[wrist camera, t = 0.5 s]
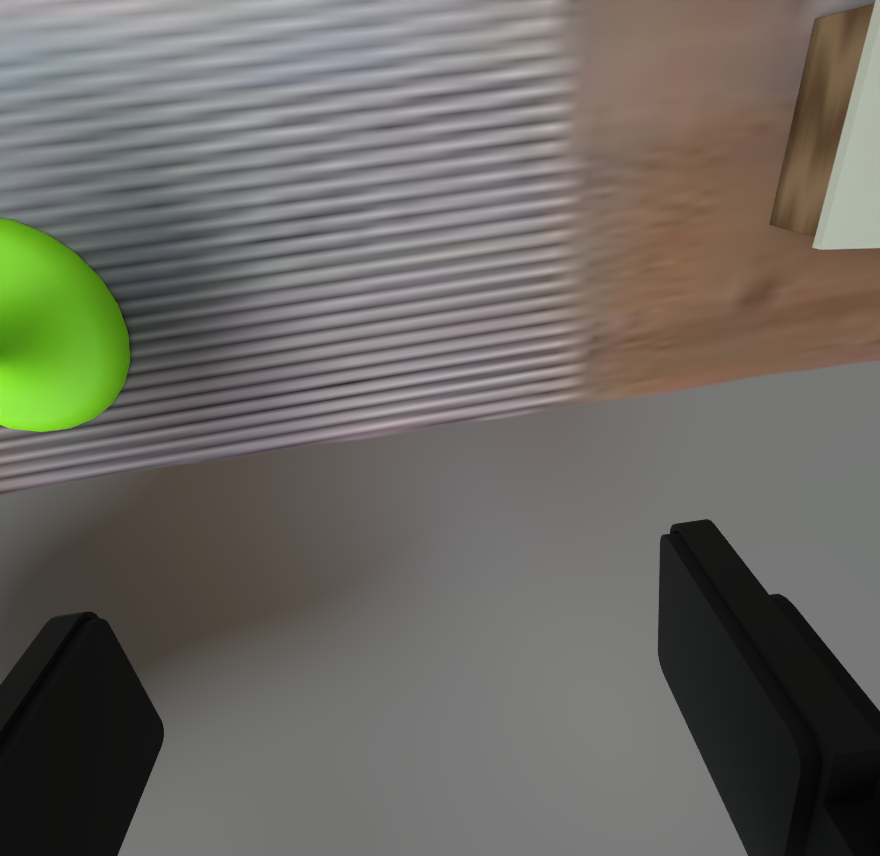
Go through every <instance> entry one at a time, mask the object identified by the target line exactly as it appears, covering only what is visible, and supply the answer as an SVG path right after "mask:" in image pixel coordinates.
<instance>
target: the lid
mask: <svg viewBox="0 0 880 856" xmlns="http://www.w3.org/2000/svg"><path fill="white" fill-rule="evenodd" d="M813 248H816V249H820V250H827V249H862V248H880V0H875V4H874V8H873V12H872V16H871V20H870V24H869V28H868V32H867V36H866V39H865V43H864V47H863V51H862V55H861V59H860V63H859V67H858V71H857V75H856V79H855V83H854V87H853V90H852V94H851V98H850V102H849V106H848V110H847V114H846V118H845V122H844V126H843V130H842V134H841V137H840V141H839V145H838V149H837V153H836V157H835V161H834V165H833V169H832V173H831V177H830V181H829V185H828V188H827V192H826V196H825V200H824V204H823V208H822V212H821V216H820V220H819V224H818V228H817V232H816V235H815V239H814V243H813Z"/></svg>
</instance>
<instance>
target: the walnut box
mask: <svg viewBox="0 0 880 856" xmlns="http://www.w3.org/2000/svg"><path fill="white" fill-rule="evenodd" d="M874 4H875V3H874ZM874 4H870V5H866V6H863V7H859V8H855V9H851V10H848V11H844V12H840V13H837V14H833V15H829V16H826V17H822V18H818V19H815V21H814V25H813V30H812V35H811V39H810V44H809V48H808V53H807V57H806V62H805V66H804V71H803V75H802V80H801V85H800V89H799V94H798V98H797V103H796V107H795V112H794V116H793V121H792V125H791V130H790V135H789V139H788V144H787V148H786V153H785V157H784V162H783V166H782V171H781V175H780V180H779V185H778V189H777V194H776V198H775V203H774V207H773V212H772V216H771V221H770V225H773V226H777V227H780V228H784V229H788V230H792V231H795V232H799V233H803V234H807V235H810V236H814V237H815V235H816V232H817V228H818V224H819V220H820V216H821V212H822V208H823V204H824V200H825V196H826V192H827V188H828V185H829V181H830V177H831V173H832V169H833V165H834V161H835V157H836V153H837V149H838V145H839V141H840V137H841V134H842V130H843V126H844V122H845V118H846V114H847V110H848V106H849V102H850V98H851V94H852V90H853V87H854V83H855V79H856V75H857V71H858V67H859V63H860V59H861V55H862V51H863V47H864V43H865V39H866V36H867V32H868V28H869V24H870V20H871V16H872V12H873V8H874Z"/></svg>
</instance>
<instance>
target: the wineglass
mask: <svg viewBox="0 0 880 856" xmlns="http://www.w3.org/2000/svg"><path fill="white" fill-rule="evenodd" d="M129 364H130V347H129V334H128V331H127V328H126V325H125V322H124V319H123V317H122V314H121V311H120V308H119V305H118V304H117V302H116V301H115V299H114V298H113V296H112V294H111V293H110V291H109V290H108V288H107V287H106V285H105V284H104V282H103V281H102V279H101V278H100V277H99V276H98V275H97V274H96V273H95V272H94V271H93V270H92V269H91V268H90V267H89V266H88V265H87V264H86V263H85V262H84V261H83V260H82V259H81V258H80V257H79V256H78V255H77V254H76V253H75V252H74V251H72V250H71V249H69V248H68V247H66V246H65V245H63V244H62V243H60V242H59V241H57V240H56V239H54V238H52V237H51V236H49V235H48V234H46V233H44V232H42V231H39V230H37V229H34V228H32V227H29V226H27V225H24V224H21V223H19V222H16V221H14V220H10V219H3V218H0V425H2V426H5V427H8V428H12V429H20V430H29V431H38V432H45V431H53V430H62V429H70V428H73V427H75V426H78V425H80V424H83V423H85V422H88V421H90V420H93V419H95V418H96V417H97V416H98V415H100V414H101V413H102V412H103V411H105V410H106V409H107V408H108V407H109V406H111V405H112V404H113V403H114V401H115V399H116V398H117V396H118V395H119V393H120V391H121V390H122V388H123V386H124V385H125V382H126V378H127V373H128V369H129Z"/></svg>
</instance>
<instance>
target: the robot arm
mask: <svg viewBox="0 0 880 856" xmlns="http://www.w3.org/2000/svg"><path fill="white" fill-rule="evenodd" d="M658 623H659V624H658V626H659V627H658V656H659V661H660V665H661V669H662V671H663V674H664V676H665V678H666V680H667V682H668V685H669V687H670V689H671V691H672V693H673V695H674V698H675V700H676V702H677V704H678V706H679V708H680V711H681V713H682V715H683V717H684V719H685V721H686V723H687V725H688V728H689V730H690V732H691V734H692V736H693V738H694V741H695V742H696V745H697V747H698V749H699V751H700V753H701V755H702V758H703V760H704V762H705V764H706V766H707V768H708V771H709V773H710V775H711V777H712V779H713V781H714V783H715V786H716V788H717V789H718V792H719V794H720V796H721V798H722V800H723V803H724V804H725V807H726V809H727V811H728V813H729V815H730V818H731V820H732V822H733V824H734V826H735V828H736V831H737V833H738V835H739V837H740V839H741V841H742V843H743V846H744V848H745V850H746V852H747V854H748V856H880V711H879V710H878V709H877V707H876V706H875V705H874V704H873V703H872V701H871V700H870V699H869V698H868V696H867V695H866V694H865V693H864V691H863V690H862V689H861V688H860V686H859V685H858V684H857V683H856V682H855V680H854V679H853V678H852V677H851V675H850V674H849V673H848V672H847V670H846V669H845V668H844V667H843V665H842V664H841V663H840V662H839V661H838V659H837V658H836V657H835V656H834V654H833V653H832V652H831V651H830V649H829V648H828V647H827V646H826V644H825V643H824V642H823V641H822V640H821V638H820V637H819V636H818V635H817V633H816V632H815V631H814V630H813V628H812V627H811V626H810V625H809V624H808V622H807V621H806V620H805V619H804V617H803V616H802V615H801V614H800V612H799V611H798V610H797V609H796V607H795V606H794V605H793V604H792V603H791V602H790V601H789V600H788V599H787V598H786V597H784V596H782V595H780V594H773V595H769V594H768V593H767V592H766V590H765V589H764V588H763V586H762V585H761V584H760V583H759V581H758V580H757V579H756V577H755V576H754V575H753V574H752V572H751V571H750V570H749V568H748V567H747V566H746V565H745V563H744V562H743V561H742V559H741V558H740V557H739V556H738V554H737V553H736V552H735V550H734V549H733V548H732V546H731V545H730V544H729V543H728V541H727V540H726V539H725V537H724V536H723V535H722V534H721V532H720V531H719V530H718V528H717V527H716V526H715V524H713V523H712V521H710V520H708V519H706V520H699V521H692V522H685V523H678V524H674V525H672V527H671V529H670V534H666V535H662V536H661V540H660V575H659V622H658ZM163 737H164V728H163V724H162V721H161V719H160V717H159V715H158V714H157V712H156V710H155V708H154V707H153V704H152V702H151V700H150V699H149V697H148V695H147V693H146V691H145V690H144V688H143V686H142V685H141V682H140V680H139V678H138V677H137V675H136V673H135V671H134V669H133V667H132V665H131V664H130V662H129V660H128V658H127V656H126V654H125V653H124V651H123V649H122V647H121V645H120V643H119V642H118V640H117V638H116V636H115V634H114V632H113V631H112V629H111V627H110V625H109V623H108V622H107V621H106V620H104V619H99V617H98V616H97V615H96V614H95V613H93V612H82V613H75V614H69V615H62V616H56V617H54V618H51V619H50V620H49V621H48V622H47V623H46V624H45V626H44V627H43V628H42V630H41V631H40V633H39V634H38V635H37V637H36V638H35V639H34V640H33V642H32V643H31V645H30V646H29V647H28V649H27V650H26V651H25V653H24V654H23V655H22V657H21V658H20V659H19V661H18V662H17V663H16V665H15V666H14V667H13V669H12V670H11V672H10V673H9V674H8V676H7V677H6V678H5V680H4V681H3V682H2V684H1V685H0V856H117V855H118V853H119V850H120V848H121V845H122V843H123V840H124V838H125V835H126V833H127V830H128V828H129V826H130V823H131V820H132V818H133V816H134V813H135V811H136V808H137V806H138V803H139V801H140V798H141V796H142V793H143V791H144V788H145V786H146V783H147V781H148V779H149V776H150V774H151V771H152V768H153V766H154V764H155V761H156V759H157V756H158V753H159V751H160V748H161V746H162V743H163Z"/></svg>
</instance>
